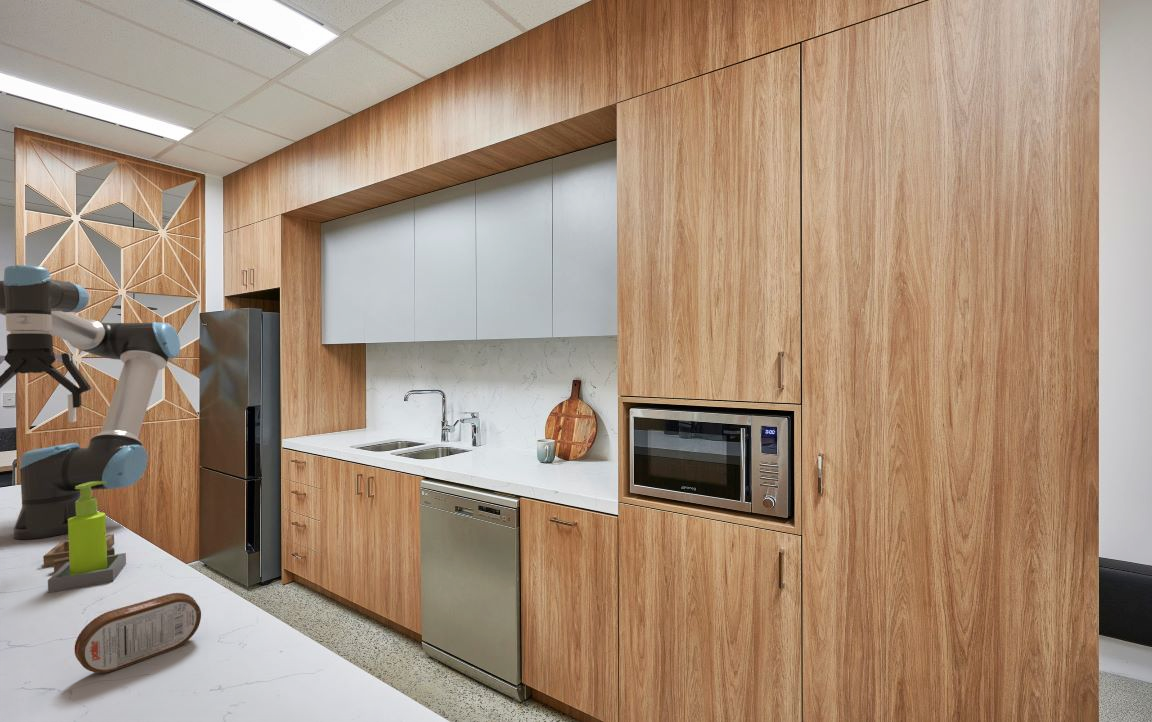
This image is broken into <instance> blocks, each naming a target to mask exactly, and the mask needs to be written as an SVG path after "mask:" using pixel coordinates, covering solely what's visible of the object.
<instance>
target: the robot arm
mask: <svg viewBox="0 0 1152 722" xmlns="http://www.w3.org/2000/svg"><path fill="white" fill-rule="evenodd" d="M3 273H4V274H3V280H0V315H2V316H4V317H5V326H6V330H5V331H6V332H8V333H7V335H6V350H7V352H6V354H5V355H0V365H1V364H2V363H3V362H4V361H5V362H6V363H7V364H8V366H9V367H7V368H6V369H5V370H4V372H3V373H2V374H1V375H0V389H1V388H3V387H4V386H5V385H6V384H7V383H8V382H9V381H10V380H11V379H12V378H13V377H14V376H16V375H17V374H18V373H19V374H30V373H31V374H32V373H33V374H39V373H40V374H41V373H45V374H47V375H49V376H50V377H51V378H53V380H55V381H56V382H57V383H59V384H60V385H61V386H62V387H63V388H65V389H66V390H68V391H69V392H70V393H71V394H67V412H68V413H67V415H68V417H67V418H68V423H75V422H77V420H78V419H77V408H81V407H82V394H83V393H84V392H88V391H90V390H91V389H92V387H91V386H90V383H89V382H88V381H87V380H86V378H85V377H84V376H83V374H82V373H81V372H80V369H78V367H77V366H76V364H75V363H74V360H73V357H72V354H71V353H69V352H63V353H60V354H55V353H54V343H53V342H54V341H53V339H54V338H53V336H55V337H57V338H60V339H61V340H65V341H67V343H68V344H70V346H72V347H73V348H75V349H77V350H80V351H82V352H85V353H88V354H91V355H94V356H98V357H101V358H106V359H111V360H118V361H121V362H122V363H123V365H122V366H123V367H122V369H121V372H120V375H119V378H118V381H117V384H116V386H115V390H114V392H113V395H112V398H111V401H110V404H109V407H108V410H107V412H106V415H105V418H104V421H103V424H102V426H101V430H100V433H98V434H96V435H93V436H92V437H91V438H90V439H89V443H88V446H87V447H81V446H80V444H79V443H78V442H71V443H70V442H69V443H64V444H63V443H62V444H58V445H53V446H47V447H46V446H45V447H41V448H37V449H32V450H27V451H26V452H24V453H22V454H21V456H20V462H19V463H20V465H19V472H20V488H21V489H20V495H21V508H20V511H19V515H18V517H17V519H16V522H15V525H14V527H13V538H14V539H16V540H34V539H35V540H36V539H42V538H49V537H54V536H60V535H64V534H68V519H69V518H71V517H74V516H76V505H75V502H76V501H77V500H79V499H81V492H80V489H75V486H78V485H81V484H84V483H87V482H94V481H106V482H107V483H106V484H99V485H95V486H92V487H91V491H94V490H95V491H96V490H116V489H120V488H126V487H127V488H128V487H130V486H133V485H134V484H136V483H137V482H139V480H140V479H141V478H142V476H144V474H145V472H146V469H147V466H148V456H149V455H148V452H147V450H146V448H145V447H144V446H143V442H142V440H140V439H139V435H140V432H141V429H142V426H143V422H144V420H145V415H146V413H147V409H148V406H149V404H150V400H151V396H152V393H153V391H154V387H155V384H156V381H157V377H158V373H159V371H161V370H164V369H165V368H166V367H167V364H168V361H169V360H173V359H176V358H177V357H178V356H179V355H180V352H181V343H180V342H181V341H180V338H179V334H178V332H177V331H176V329H175V327H174V326H173V325H171V324H170V323H168V322H157V321H153V322H100V321H98V320H96V319H92V318H83V317H81V316H79V315H77V314H75V313H76V312H80V311H82V310H84V309H85V308H86V307H87V306H88V303H89V299H90V295H89V293H88V291H87V290H86V288H84V287H83V286H81V285H80V284H77V283H73V282H71V281H63V280H58V279H52V276H51V274H50V271H49V269H47V268H46V267H44V266H36V265H24V264H23V265H22V264H21V265H20V264H19V265H18V264H15V265H8V266H6V267H5V268H4V271H3ZM56 360H57V361H58V362H59V363H61V364H62V365H64V367H65V368H66V370H67V371H68V373H69V374H70V375H71V377H72V379H73V380H74V381H75V383H77V385H78V386H77V385H76V384H74V382H72V381H71V380H70V379H68V378H67V377H66V376H65V375H64V374H62V373H61V372H60V371H59V370H58V369H57V368H56V367H55V366H53V363H54V362H55V361H56Z"/></svg>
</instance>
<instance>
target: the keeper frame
mask: <svg viewBox="0 0 1152 722" xmlns="http://www.w3.org/2000/svg"><path fill="white" fill-rule="evenodd" d="M126 555H127V553H126V552H122V553H117V554H116V553H115V555H109V556H107V569H103V570H97V571H91V572H85V573H79V574H73V575H70V562H66V563H65V564H64V565H63V566H62V567H61V568H60V569H59V570H58V571H57V572H56V573H55V574H53V575H51V577H49V578H48V580H47V591H48V592H47V593H48V594H49V593H54V592H59V591H60V592H61V591H66V590H71V589H76V588H83V587H88V586H94V585H99V584H105V583H109V582H114V581H115V579H116V578H117V577H118V576H119V575H120V573H121V571H122V570H123V569H124V568H125V566H126V565H127V556H126Z"/></svg>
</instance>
